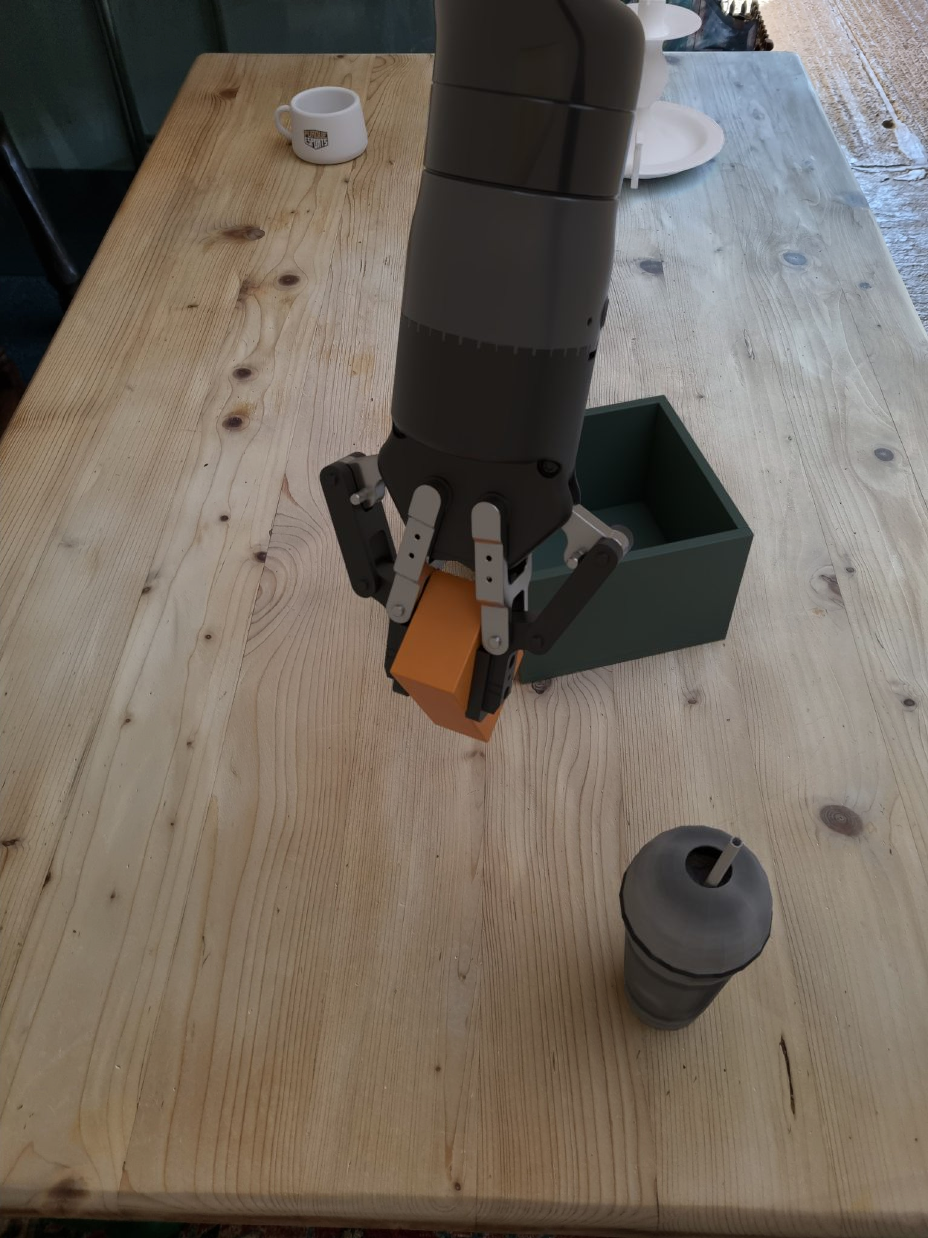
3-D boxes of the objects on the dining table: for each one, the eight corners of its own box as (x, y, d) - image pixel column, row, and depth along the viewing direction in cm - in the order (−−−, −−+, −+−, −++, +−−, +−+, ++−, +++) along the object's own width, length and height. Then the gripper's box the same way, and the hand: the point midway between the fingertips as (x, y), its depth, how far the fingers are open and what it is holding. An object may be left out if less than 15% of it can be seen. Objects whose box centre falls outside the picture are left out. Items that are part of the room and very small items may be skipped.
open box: (725, 639, 73) (754, 534, 65) (522, 684, 71) (525, 582, 62) (648, 499, 83) (664, 393, 74) (467, 536, 80) (464, 430, 72)
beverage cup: (704, 919, 59) (777, 730, 44) (748, 1044, 54) (847, 881, 39) (586, 940, 58) (618, 756, 43) (619, 1069, 54) (668, 913, 38)
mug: (378, 135, 129) (373, 86, 124) (355, 169, 123) (349, 119, 118) (291, 128, 131) (284, 79, 126) (264, 161, 125) (256, 111, 120)
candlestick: (541, 213, 114) (551, -72, 93) (558, 120, 130) (571, -142, 109) (722, 222, 112) (775, -69, 91) (718, 126, 128) (762, -141, 107)
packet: (524, 653, 50) (496, 587, 42) (488, 743, 49) (453, 694, 41) (470, 635, 51) (433, 567, 43) (433, 724, 50) (388, 672, 42)
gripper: (286, 287, 36) (267, 688, 44) (660, 372, 32) (564, 797, 40) (381, 268, 42) (349, 622, 50) (705, 338, 38) (613, 711, 46)
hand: (444, 698), depth 45 cm, fingers closed on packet, 3 cm apart
